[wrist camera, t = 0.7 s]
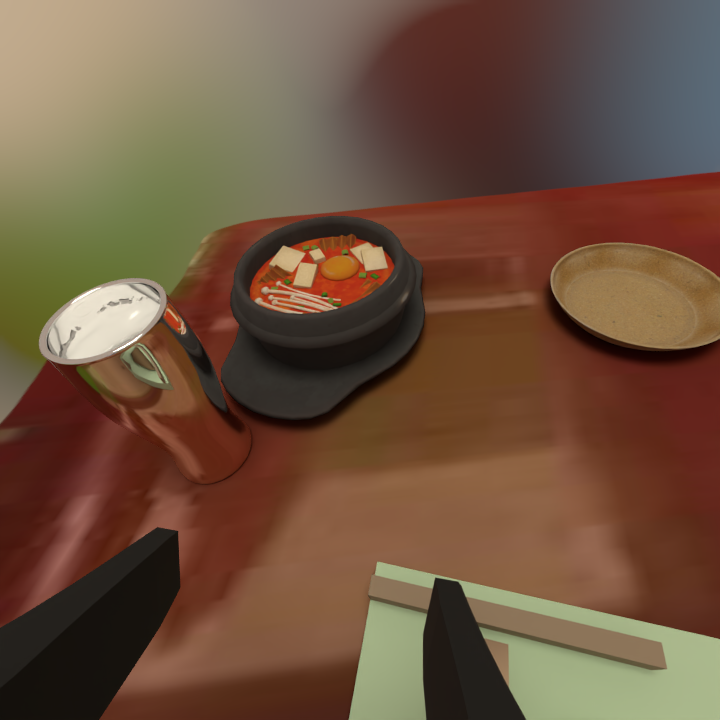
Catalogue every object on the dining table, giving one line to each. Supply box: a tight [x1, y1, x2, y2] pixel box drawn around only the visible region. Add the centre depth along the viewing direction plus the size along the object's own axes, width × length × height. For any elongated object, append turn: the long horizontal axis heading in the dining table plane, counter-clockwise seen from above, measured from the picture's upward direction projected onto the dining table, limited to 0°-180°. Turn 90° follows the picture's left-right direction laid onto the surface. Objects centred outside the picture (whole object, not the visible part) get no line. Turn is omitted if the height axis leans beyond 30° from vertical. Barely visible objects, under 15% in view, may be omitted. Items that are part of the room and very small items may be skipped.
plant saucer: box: [550, 243, 720, 351], centre depth 36 cm, size 15×15×3 cm
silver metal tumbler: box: [39, 278, 252, 484], centre depth 26 cm, size 7×7×15 cm
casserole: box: [221, 216, 425, 420], centre depth 36 cm, size 25×19×8 cm
